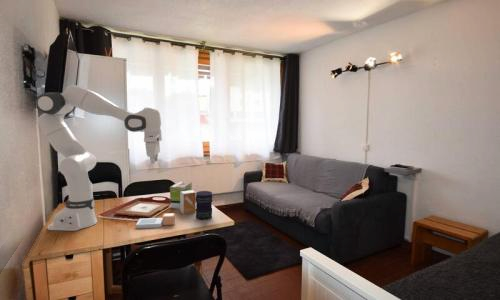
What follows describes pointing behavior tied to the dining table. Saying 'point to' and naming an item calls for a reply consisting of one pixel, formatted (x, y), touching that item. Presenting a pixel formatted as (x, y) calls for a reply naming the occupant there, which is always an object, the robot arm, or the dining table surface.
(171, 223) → the stub
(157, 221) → the white flat box
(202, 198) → the storage jar
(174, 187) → the tea box
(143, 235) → the dining table surface
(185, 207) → the small box
